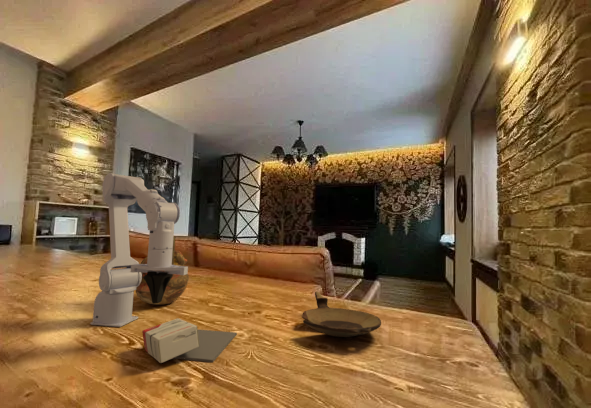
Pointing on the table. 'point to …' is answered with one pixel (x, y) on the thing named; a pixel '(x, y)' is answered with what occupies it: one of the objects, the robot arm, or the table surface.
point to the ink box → (170, 339)
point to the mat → (208, 346)
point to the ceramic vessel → (174, 285)
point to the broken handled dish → (339, 320)
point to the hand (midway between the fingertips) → (156, 302)
